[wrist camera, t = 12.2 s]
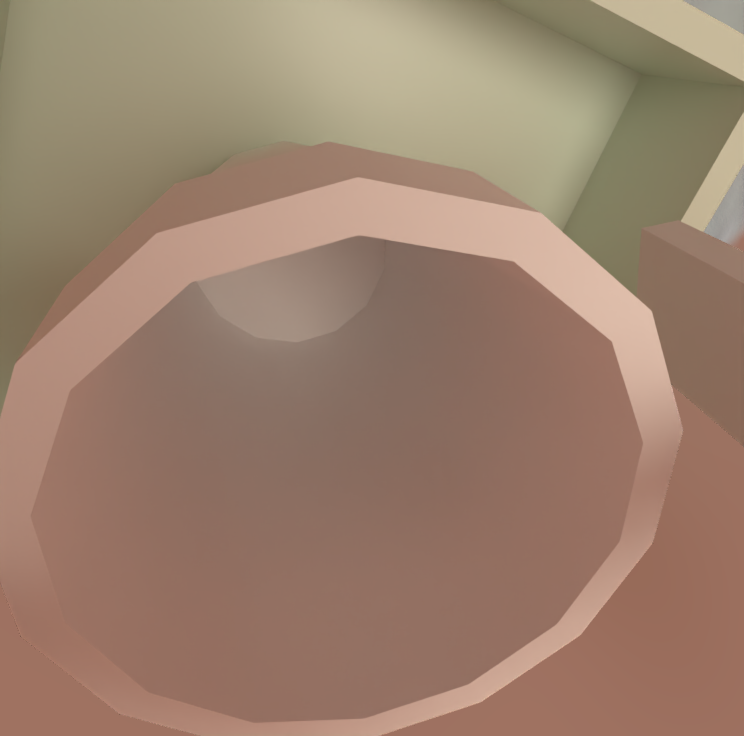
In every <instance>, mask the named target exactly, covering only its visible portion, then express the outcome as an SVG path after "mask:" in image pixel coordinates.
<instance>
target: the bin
mask: <svg viewBox="0 0 744 736" xmlns="http://www.w3.org/2000/svg"><path fill="white" fill-rule="evenodd" d="M281 141H287V142H292V143H297V144H302V145H307V146H314V145H317V144H321V143H324V142H328V141H329V142H333V143H338V144H343V145H348V146H353V147H358V148H362V149H367V150H372V151H377V152H382V153H386V154H391V155H396V156H401V157H406V158H411V159H415V160H420V161H425V162H430V163H435V164H439V165H444V166H449V167H454V168H459V169H464V170H468V171H473V172H474V173H476V174H478V175H479V176H481V177H483V178H484V179H486V180H488V181H489V182H491V183H493V184H494V185H496V186H498V187H499V188H501V189H502V190H504V191H506V192H507V193H509V194H511V195H512V196H514V197H516V198H517V199H519V200H521V201H522V202H524V203H526V204H527V205H529V206H531V207H532V208H534V209H535V210H537V211H539V212H540V213H542V214H543V215H544V216H545V217H546V218H547V219H548V220H550V221H551V222H552V223H553V224H554V225H555V226H556V227H557V228H559V229H560V230H561V231H562V232H563V233H564V234H565V235H567V236H568V237H569V238H570V239H571V240H572V241H573V242H574V243H576V244H577V245H578V246H579V247H580V248H581V249H582V250H583V251H585V252H586V253H587V254H588V255H589V256H590V257H591V258H592V259H594V260H595V261H596V262H597V263H598V264H599V265H600V266H602V267H603V268H604V269H605V270H606V271H607V272H608V273H609V274H611V275H612V276H613V277H614V278H615V279H616V280H617V281H618V282H620V283H621V284H622V285H623V286H624V287H625V288H626V289H628V290H629V291H630V292H631V293H632V294H633V295H634V296H635V297H636V296H637V282H638V269H639V255H640V241H641V228H644V227H649V226H654V225H658V224H663V223H668V222H672V221H677V220H679V221H681V222H683V223H685V224H687V225H689V226H691V227H694V228H696V229H698V230H700V231H702V232H704V230H705V228H706V226H707V225H708V223H709V221H710V220H711V218H712V216H713V215H714V213H715V211H716V210H717V208H718V206H719V205H720V203H721V201H722V199H723V198H724V196H725V194H726V193H727V191H728V189H729V188H730V186H731V184H732V183H733V181H734V179H735V178H736V176H737V174H738V172H739V171H740V169H741V167H742V166H743V164H744V35H743V34H741V33H740V32H738V31H736V30H734V29H732V28H731V27H729V26H727V25H725V24H724V23H722V22H720V21H718V20H716V19H715V18H713V17H711V16H709V15H707V14H706V13H704V12H702V11H700V10H699V9H697V8H695V7H693V6H691V5H690V4H688V3H686V2H684V1H683V0H0V416H1V413H2V409H3V405H4V402H5V398H6V394H7V391H8V387H9V383H10V380H11V376H12V372H13V369H14V365H15V363H16V361H17V360H18V358H19V356H20V355H21V353H22V352H23V350H24V349H25V347H26V346H27V344H28V343H29V341H30V339H31V338H32V336H33V335H34V333H35V332H36V330H37V329H38V327H39V326H40V324H41V322H42V321H43V319H44V318H45V316H46V315H47V313H48V312H49V310H50V308H51V307H52V305H53V304H54V302H55V301H56V299H57V298H58V296H59V295H60V293H61V291H62V290H63V288H64V287H65V286H66V285H67V284H68V283H69V282H70V281H71V280H72V279H73V278H74V277H75V276H76V275H77V274H78V273H79V272H81V271H82V270H83V269H84V268H85V267H86V266H87V265H88V264H89V263H90V262H91V261H92V260H93V259H95V258H96V257H97V256H98V255H99V254H100V253H101V252H102V251H103V250H104V249H105V248H106V247H107V246H108V245H110V244H111V243H112V242H113V241H114V240H115V239H116V238H117V237H118V236H119V235H120V234H121V233H122V232H123V231H125V230H126V229H127V228H128V227H129V226H130V225H131V224H132V223H133V222H134V221H135V220H136V219H137V218H139V217H140V216H141V215H142V214H143V213H144V212H145V211H146V210H147V209H148V208H149V207H150V206H151V205H152V204H154V203H155V202H156V201H157V200H158V199H159V198H160V197H161V196H162V195H163V194H164V193H165V192H166V191H167V190H169V189H170V188H171V187H172V186H173V185H174V184H175V183H179V182H183V181H186V180H190V179H193V178H197V177H201V176H204V175H208V174H211V173H212V172H214V171H215V170H216V169H217V168H218V167H220V166H221V165H222V164H223V163H224V162H226V161H227V160H228V159H229V158H230V157H231V156H233V155H234V154H237V153H241V152H244V151H248V150H252V149H255V148H259V147H263V146H266V145H270V144H274V143H277V142H281Z"/></svg>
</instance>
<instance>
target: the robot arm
mask: <svg viewBox="0 0 744 736" xmlns="http://www.w3.org/2000/svg"><path fill="white" fill-rule="evenodd" d="M636 297H637V298H638V299H639V300H640V301H641V302H642V303H643V304H644V305H646V306H647V307H648V308H649V309H650V310H651V311H652V314H653V318H654V321H655V325H656V329H657V333H658V336H659V340H660V344H661V348H662V352H663V355H664V359H665V363H666V367H667V371H668V374H669V378H670V382H671V385H673V386H674V387H675V388H676V389H678V391H680V392H681V393H682V394H683V395H684V396H685V397H686V398H688V399H689V400H690V401H691V402H692V403H694V404H695V405H696V406H697V407H698V408H699V409H700V410H702V411H703V412H704V413H705V414H706V415H707V416H709V417H710V418H711V419H712V420H713V421H714V422H716V423H717V424H718V425H719V426H720V427H721V428H723V429H724V430H725V431H726V432H727V433H728V434H730V435H731V436H732V437H733V438H734V439H736V440H737V441H738V442H739V443H740V444H741V445H742V446H744V251H742V250H739V249H737V248H735V247H733V246H731V245H729V244H727V243H725V242H723V241H721V240H719V239H716V238H714V237H712V236H710V235H708V234H706V233H704V232H702V231H700V230H698V229H696V228H694V227H691V226H689V225H687V224H685V223H683V222H681V221H679V220H677V221H672V222H668V223H663V224H658V225H654V226H649V227H644V228H641V241H640V255H639V269H638V282H637V296H636Z"/></svg>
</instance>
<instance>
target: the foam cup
mask: <svg viewBox="0 0 744 736" xmlns="http://www.w3.org/2000/svg"><path fill="white" fill-rule="evenodd" d="M682 433H683V428H682V424H681V420H680V416H679V412H678V409H677V405H676V401H675V397H674V394H673V390H672V386H671V382H670V378H669V374H668V371H667V367H666V363H665V359H664V355H663V352H662V348H661V344H660V340H659V336H658V333H657V329H656V325H655V321H654V318H653V314H652V311H651V310H650V309H649V308H648V307H647V306H646V305H644V304H643V303H642V302H641V301H640V300H639V299H638V298H637V297H635V296H634V295H633V294H632V293H631V292H630V291H629V290H628V289H626V288H625V287H624V286H623V285H622V284H621V283H620V282H618V281H617V280H616V279H615V278H614V277H613V276H612V275H611V274H609V273H608V272H607V271H606V270H605V269H604V268H603V267H602V266H600V265H599V264H598V263H597V262H596V261H595V260H594V259H592V258H591V257H590V256H589V255H588V254H587V253H586V252H585V251H583V250H582V249H581V248H580V247H579V246H578V245H577V244H576V243H574V242H573V241H572V240H571V239H570V238H569V237H568V236H567V235H565V234H564V233H563V232H562V231H561V230H560V229H559V228H557V227H556V226H555V225H554V224H553V223H552V222H551V221H550V220H548V219H547V218H546V217H545V216H544V215H543V214H542V213H540V212H539V211H537V210H535V209H534V208H532V207H531V206H529V205H527V204H526V203H524V202H522V201H521V200H519V199H517V198H516V197H514V196H512V195H511V194H509V193H507V192H506V191H504V190H502V189H501V188H499V187H498V186H496V185H494V184H493V183H491V182H489V181H488V180H486V179H484V178H483V177H481V176H479V175H478V174H476V173H474V172H473V171H468V170H464V169H459V168H454V167H449V166H444V165H439V164H435V163H430V162H425V161H420V160H415V159H411V158H406V157H401V156H396V155H391V154H386V153H382V152H377V151H372V150H367V149H362V148H358V147H353V146H348V145H343V144H338V143H333V142H329V141H328V142H324V143H321V144H317V145H314V146H307V145H302V144H297V143H292V142H287V141H281V142H277V143H274V144H270V145H266V146H263V147H259V148H255V149H252V150H248V151H244V152H241V153H237V154H234V155H233V156H231V157H230V158H229V159H228V160H227V161H226V162H224V163H223V164H222V165H221V166H220V167H218V168H217V169H216V170H215V171H214V172H212V173H211V174H208V175H204V176H201V177H197V178H193V179H190V180H186V181H183V182H179V183H175V184H174V185H173V186H172V187H171V188H170V189H169V190H167V191H166V192H165V193H164V194H163V195H162V196H161V197H160V198H159V199H158V200H157V201H156V202H155V203H154V204H152V205H151V206H150V207H149V208H148V209H147V210H146V211H145V212H144V213H143V214H142V215H141V216H140V217H139V218H137V219H136V220H135V221H134V222H133V223H132V224H131V225H130V226H129V227H128V228H127V229H126V230H125V231H123V232H122V233H121V234H120V235H119V236H118V237H117V238H116V239H115V240H114V241H113V242H112V243H111V244H110V245H108V246H107V247H106V248H105V249H104V250H103V251H102V252H101V253H100V254H99V255H98V256H97V257H96V258H95V259H93V260H92V261H91V262H90V263H89V264H88V265H87V266H86V267H85V268H84V269H83V270H82V271H81V272H79V273H78V274H77V275H76V276H75V277H74V278H73V279H72V280H71V281H70V282H69V283H68V284H67V285H66V286H65V287H64V288H63V290H62V291H61V293H60V295H59V296H58V298H57V299H56V301H55V302H54V304H53V305H52V307H51V308H50V310H49V312H48V313H47V315H46V316H45V318H44V319H43V321H42V322H41V324H40V326H39V327H38V329H37V330H36V332H35V333H34V335H33V336H32V338H31V339H30V341H29V343H28V344H27V346H26V347H25V349H24V350H23V352H22V353H21V355H20V356H19V358H18V360H17V361H16V363H15V365H14V369H13V372H12V376H11V380H10V383H9V387H8V391H7V394H6V398H5V402H4V405H3V409H2V413H1V416H0V584H1V586H2V589H3V592H4V594H5V596H6V600H7V602H8V605H9V608H10V610H11V612H12V615H13V618H14V620H15V623H16V626H17V629H18V631H19V634H20V637H22V638H23V639H24V640H26V641H27V642H28V643H29V644H31V645H32V646H33V647H34V648H36V649H37V650H39V651H40V652H41V653H42V654H43V655H45V656H46V657H47V658H49V659H50V660H51V661H53V662H54V663H55V664H56V665H57V666H59V667H60V668H61V669H63V670H64V671H65V672H66V673H68V674H69V675H70V676H71V677H73V678H74V679H75V680H77V681H78V682H79V683H80V684H82V685H83V686H84V687H86V688H87V689H88V690H89V691H91V692H92V693H93V694H94V695H96V696H97V697H98V698H99V699H101V700H102V701H103V702H105V703H106V704H107V705H109V706H110V707H111V708H112V709H114V710H115V711H116V712H117V713H119V714H121V715H125V716H128V717H132V718H136V719H140V720H143V721H147V722H151V723H154V724H158V725H162V726H166V727H169V728H173V729H177V730H181V731H185V732H188V733H192V734H195V735H199V736H380V735H383V734H386V733H389V732H392V731H395V730H398V729H401V728H404V727H407V726H410V725H413V724H416V723H419V722H422V721H425V720H428V719H431V718H434V717H437V716H440V715H443V714H446V713H450V712H453V711H456V710H459V709H462V708H465V707H467V706H471V705H474V704H477V703H480V702H482V701H483V700H485V699H486V698H488V697H489V696H491V695H492V694H493V693H495V692H496V691H498V690H500V689H501V688H502V687H504V686H506V685H507V684H508V683H510V682H511V681H513V680H514V679H516V678H517V677H519V676H520V675H522V674H523V673H525V672H526V671H528V670H529V669H531V668H532V667H534V666H535V665H537V664H538V663H540V662H541V661H543V660H544V659H546V658H547V657H548V656H550V655H552V654H553V653H555V652H556V651H557V650H559V649H560V648H562V647H563V646H565V645H566V644H568V643H569V642H571V641H572V640H574V639H575V638H577V637H578V636H580V635H581V634H582V632H583V631H584V630H585V629H586V627H587V626H588V625H589V623H590V622H591V621H592V620H593V618H594V617H595V616H596V615H597V613H598V612H599V611H600V609H601V608H602V607H603V606H604V604H605V603H606V602H607V601H608V599H609V598H610V597H611V595H612V594H613V593H614V592H615V590H616V589H617V588H618V586H619V585H620V584H621V583H622V581H623V580H624V579H625V578H626V576H627V575H628V574H629V572H630V571H631V570H632V568H633V567H634V566H635V565H636V564H637V562H638V561H639V560H640V558H641V557H642V556H643V554H644V553H645V552H646V551H647V550H648V548H649V547H650V546H651V544H652V543H653V540H654V536H655V532H656V529H657V525H658V521H659V518H660V514H661V510H662V507H663V503H664V500H665V496H666V492H667V488H668V485H669V481H670V477H671V473H672V470H673V466H674V463H675V459H676V455H677V452H678V448H679V444H680V441H681V436H682Z"/></svg>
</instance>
